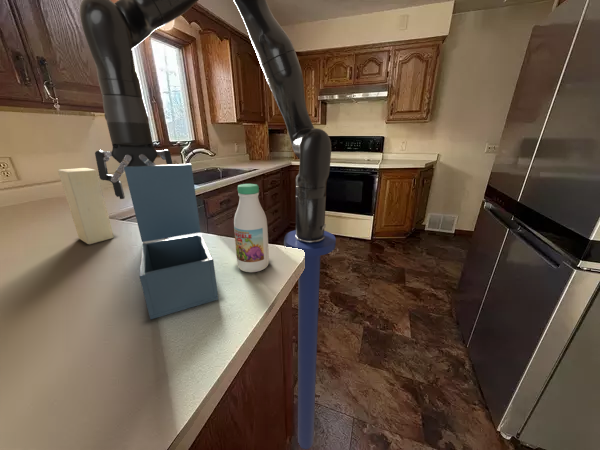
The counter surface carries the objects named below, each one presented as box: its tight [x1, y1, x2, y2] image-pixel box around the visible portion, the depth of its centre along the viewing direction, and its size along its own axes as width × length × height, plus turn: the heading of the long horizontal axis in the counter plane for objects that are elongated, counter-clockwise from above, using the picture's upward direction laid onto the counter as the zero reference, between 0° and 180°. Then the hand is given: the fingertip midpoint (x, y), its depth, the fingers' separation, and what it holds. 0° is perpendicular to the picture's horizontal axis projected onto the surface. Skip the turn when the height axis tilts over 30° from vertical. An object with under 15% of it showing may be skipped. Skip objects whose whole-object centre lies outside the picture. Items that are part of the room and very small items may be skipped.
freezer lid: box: [124, 163, 202, 243], centre depth 53 cm, size 15×12×5 cm
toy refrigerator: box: [57, 167, 114, 245], centre depth 73 cm, size 8×7×21 cm
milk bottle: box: [233, 183, 270, 273], centre depth 57 cm, size 8×8×20 cm
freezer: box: [138, 233, 219, 320], centre depth 50 cm, size 15×12×9 cm
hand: (144, 196), depth 57 cm, fingers open, 8 cm apart
